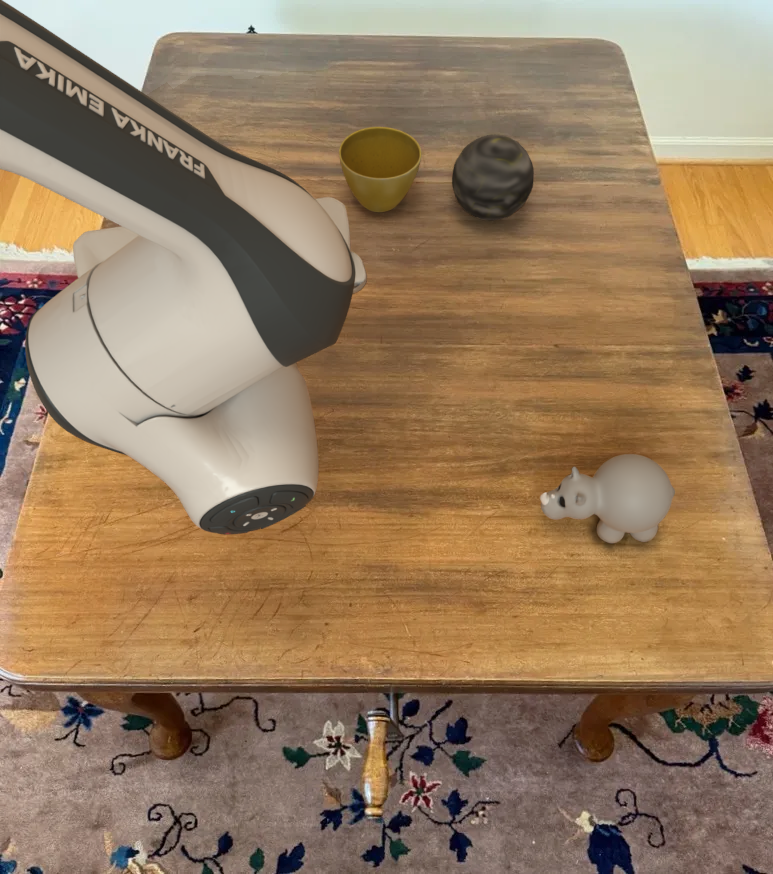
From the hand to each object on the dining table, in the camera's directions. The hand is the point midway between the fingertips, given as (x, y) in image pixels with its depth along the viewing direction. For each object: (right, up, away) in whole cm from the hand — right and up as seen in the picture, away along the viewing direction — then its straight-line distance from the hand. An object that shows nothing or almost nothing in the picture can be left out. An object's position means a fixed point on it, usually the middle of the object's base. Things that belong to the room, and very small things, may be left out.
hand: (208, 189), depth 59 cm
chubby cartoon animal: (+34, -28, +13) cm, 46 cm away
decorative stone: (+27, +9, +36) cm, 46 cm away
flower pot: (+13, +11, +37) cm, 41 cm away
